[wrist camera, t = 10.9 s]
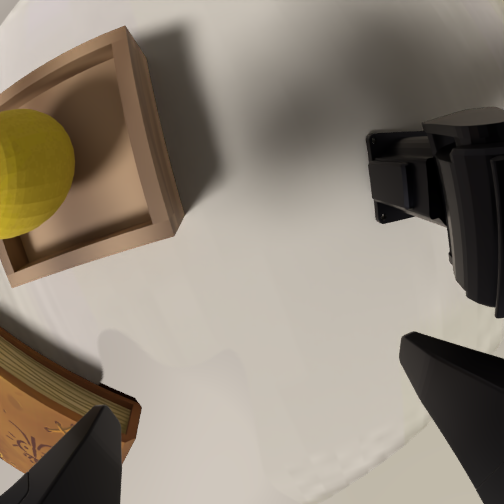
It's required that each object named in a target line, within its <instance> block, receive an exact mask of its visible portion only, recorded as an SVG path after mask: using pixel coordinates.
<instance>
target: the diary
mask: <svg viewBox="0 0 504 504" xmlns="http://www.w3.org/2000/svg"><path fill="white" fill-rule="evenodd" d="M95 405H107V406H108V407H109V408H110V409H111V411H112V412H113V413H114V415H115V416H116V417H117V419H118V420H119V422H120V424H121V451H122V463H123V461H124V460H125V458H126V456H127V454H128V452H129V450H130V448H131V446H132V444H133V443H134V441H135V439H136V434H137V429H138V424H139V419H140V414H141V409H142V407H141V406H140V404H139V403H138V401H137V400H136V398H134V397H132V396H129V395H127V394H125V393H123V392H120V391H118V390H116V389H114V388H111V387H109V386H107V385H105V384H103V383H101V382H100V384H99V385H96V384H94V383H92V382H90V381H88V380H86V379H84V378H82V377H80V376H78V375H76V374H74V373H73V372H71V371H69V370H67V369H65V368H63V367H62V366H60V365H58V364H56V363H55V362H53V361H51V360H50V359H48V358H46V357H45V356H43V355H41V354H40V353H38V352H36V351H35V350H33V349H32V348H30V347H29V346H27V345H26V344H24V343H23V342H21V341H20V340H18V339H17V338H15V337H14V336H12V335H11V334H10V333H8V332H7V331H5V330H4V329H3V328H1V327H0V458H1V459H3V460H4V461H6V462H7V463H9V464H10V465H12V466H13V467H15V468H16V469H18V470H20V471H22V472H23V473H26V472H29V469H30V468H31V467H32V466H33V465H35V464H36V463H37V462H38V461H39V460H40V459H41V458H42V457H43V456H44V455H45V454H46V453H47V452H48V451H49V450H50V449H51V448H52V447H53V446H54V445H55V444H56V443H57V442H58V441H59V440H60V439H61V438H62V437H63V436H64V435H65V434H66V433H67V432H68V431H69V430H70V429H71V428H72V427H73V426H74V425H75V424H76V423H77V422H78V421H79V420H80V419H81V418H82V417H83V416H84V415H85V414H86V413H87V412H88V411H89V410H90V409H91V408H92V407H93V406H95Z"/></svg>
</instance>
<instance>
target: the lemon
mask: <svg viewBox="0 0 504 504" xmlns="http://www.w3.org/2000/svg"><path fill="white" fill-rule="evenodd" d="M74 171H75V156H74V149H73V146H72V143H71V140H70V137H69V136H68V134H67V132H66V131H65V129H64V128H63V126H62V125H61V124H60V123H58V122H57V121H56V120H55V119H54V118H52V117H51V116H49V115H47V114H45V113H42V112H39V111H36V110H32V109H13V110H6V111H2V112H0V239H8V238H12V237H16V236H19V235H22V234H25V233H28V232H30V231H32V230H34V229H36V228H37V227H39V226H40V225H41V224H43V223H44V222H45V221H46V220H48V219H49V218H50V217H51V216H52V215H54V213H55V212H56V211H57V210H58V208H59V207H60V206H61V204H62V203H63V202H64V200H65V199H66V196H67V194H68V192H69V190H70V188H71V185H72V181H73V176H74Z"/></svg>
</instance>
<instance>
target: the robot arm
mask: <svg viewBox="0 0 504 504" xmlns="http://www.w3.org/2000/svg"><path fill="white" fill-rule="evenodd" d="M422 126H423V129H424V131H415V132H393V133H377V134H370V135H368V136H367V138H366V143H367V150H368V156H369V165H368V167H369V174H370V182H371V190H372V198H373V199H374V205H375V217H376V220H377V222H379V223H381V224H386V223H390V222H394V221H398V220H402V219H407V218H411V217H415V216H416V217H419V218H422V219H424V220H427V221H430V222H433V223H436V224H438V225H441V226H444V227H447V231H448V239H449V248H450V252H449V261H450V263H451V264H452V265H453V271H454V275H455V278H456V281H457V282H458V283H459V284H460V285H461V287H462V288H463V289H464V290H465V291H466V296H467V297H468V298H469V299H471V300H473V301H475V302H477V303H479V304H482V305H485V306H488V307H494V308H495V317H496V318H504V110H503V109H500V108H497V107H485V108H475V109H467V110H463V111H460V112H456V113H453V114H449V115H446V116H443V117H439V118H436V119H433V120H430V121H426V122H423V123H422ZM372 138H374V139H375V143H374V144H373V143H372ZM382 214H384V217H383V219H381V216H382ZM399 360H400V363H401V365H402V367H403V368H404V370H405V372H406V374H407V376H408V378H409V380H410V382H411V384H412V386H413V388H414V389H415V391H416V393H417V395H418V397H419V399H420V400H421V402H422V404H423V405H424V407H425V408H426V410H427V411H428V413H429V414H430V416H431V417H432V419H433V420H434V422H435V423H436V425H437V426H438V428H439V429H440V431H441V433H442V434H443V436H444V437H445V439H446V440H447V442H448V444H449V445H450V447H451V448H452V450H453V452H454V453H455V455H456V456H457V458H458V460H459V461H460V463H461V465H462V466H463V468H464V470H465V471H466V473H467V475H468V476H469V478H470V480H471V482H472V483H473V485H474V487H475V488H476V491H477V492H478V494H479V496H480V498H481V500H482V501H483V503H484V504H504V359H503V358H500V357H496V356H493V355H489V354H486V353H483V352H479V351H476V350H473V349H469V348H466V347H463V346H460V345H456V344H453V343H450V342H447V341H443V340H440V339H437V338H434V337H431V336H427V335H424V334H421V333H418V332H414V331H413V332H410V333H408V334H406V335H404V336H402V338H401V344H400V353H399ZM121 474H122V451H121V424H120V422H119V420H118V419H117V417H116V416H115V415H114V413H113V412H112V411H111V409H110V408H109V407H108V406H107V405H95V406H93V407H92V408H91V409H90V410H89V411H88V412H87V413H86V414H85V415H84V416H83V417H82V418H81V419H80V420H79V421H78V422H77V423H76V424H75V425H74V426H73V427H72V428H71V429H70V430H69V431H68V432H67V433H66V434H65V435H64V436H63V437H62V438H61V439H60V440H59V441H58V442H57V443H56V444H55V445H54V446H53V447H52V448H51V449H50V450H49V451H48V452H47V453H46V454H45V455H44V456H43V457H42V458H41V459H40V460H39V461H38V462H37V463H36V464H35V465H33V466H32V467H31V468H30V469H29V472H26V473H25V474H24V475H23V476H22V477H21V478H20V479H19V480H18V481H17V482H16V483H15V484H14V485H13V486H12V487H10V488H9V489H8V490H7V491H6V492H4V493H3V494H2V495H1V496H0V504H120V495H121V476H122V475H121Z"/></svg>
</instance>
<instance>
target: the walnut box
mask: <svg viewBox="0 0 504 504" xmlns="http://www.w3.org/2000/svg"><path fill="white" fill-rule="evenodd" d="M13 109H32V110H36V111H39V112H42V113H45V114H47V115H49V116H51V117H52V118H54V119H55V120H56V121H57V122H58V123H60V124H61V125H62V126H63V128H64V129H65V131H66V132H67V134H68V136H69V137H70V140H71V143H72V146H73V149H74V156H75V171H74V176H73V181H72V185H71V188H70V190H69V192H68V194H67V196H66V199H65V200H64V202H63V203H62V204H61V206H60V207H59V208H58V210H57V211H56V212H55V213H54V215H52V216H51V217H50V218H49V219H48V220H46V221H45V222H44V223H43V224H41V225H40V226H39V227H37V228H36V229H34V230H32V231H30V232H28V233H25V234H22V235H19V236H16V237H12V238H8V239H0V259H1V262H2V265H3V267H4V270H5V272H6V275H7V277H8V280H9V282H10V285H11V287H12V288H14V287H17V286H20V285H22V284H25V283H28V282H31V281H34V280H37V279H39V278H42V277H45V276H48V275H51V274H54V273H57V272H60V271H63V270H66V269H69V268H72V267H75V266H78V265H81V264H84V263H88V262H91V261H94V260H97V259H100V258H103V257H106V256H110V255H113V254H116V253H119V252H123V251H126V250H129V249H132V248H136V247H139V246H142V245H146V244H149V243H153V242H156V241H159V240H163V239H166V238H170V237H173V236H175V234H176V232H177V230H178V228H179V226H180V224H181V222H182V220H183V218H184V216H185V215H184V211H183V208H182V204H181V201H180V197H179V193H178V190H177V186H176V182H175V179H174V175H173V171H172V167H171V164H170V160H169V156H168V152H167V148H166V144H165V140H164V136H163V132H162V128H161V123H160V119H159V115H158V110H157V106H156V102H155V97H154V93H153V88H152V83H151V78H150V74H149V69H148V64H147V59H146V57H145V56H144V54H143V52H142V51H141V49H140V48H139V46H138V45H137V43H136V41H135V40H134V38H133V37H132V35H131V34H130V32H129V31H128V29H127V27H126V26H123V27H120V28H118V29H115V30H112V31H110V32H108V33H105V34H103V35H100V36H98V37H96V38H94V39H91V40H89V41H87V42H85V43H83V44H81V45H79V46H77V47H75V48H73V49H71V50H69V51H67V52H65V53H63V54H61V55H60V56H58V57H56V58H54V59H52V60H51V61H49V62H47V63H45V64H44V65H42V66H40V67H39V68H37V69H36V70H34V71H32V72H31V73H29V74H28V75H26V76H25V77H23V78H22V79H20V80H19V81H17V82H16V83H15V84H13V85H12V86H10V87H9V88H8V89H6V90H5V91H4V92H2V93H1V94H0V112H2V111H6V110H13Z"/></svg>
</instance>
